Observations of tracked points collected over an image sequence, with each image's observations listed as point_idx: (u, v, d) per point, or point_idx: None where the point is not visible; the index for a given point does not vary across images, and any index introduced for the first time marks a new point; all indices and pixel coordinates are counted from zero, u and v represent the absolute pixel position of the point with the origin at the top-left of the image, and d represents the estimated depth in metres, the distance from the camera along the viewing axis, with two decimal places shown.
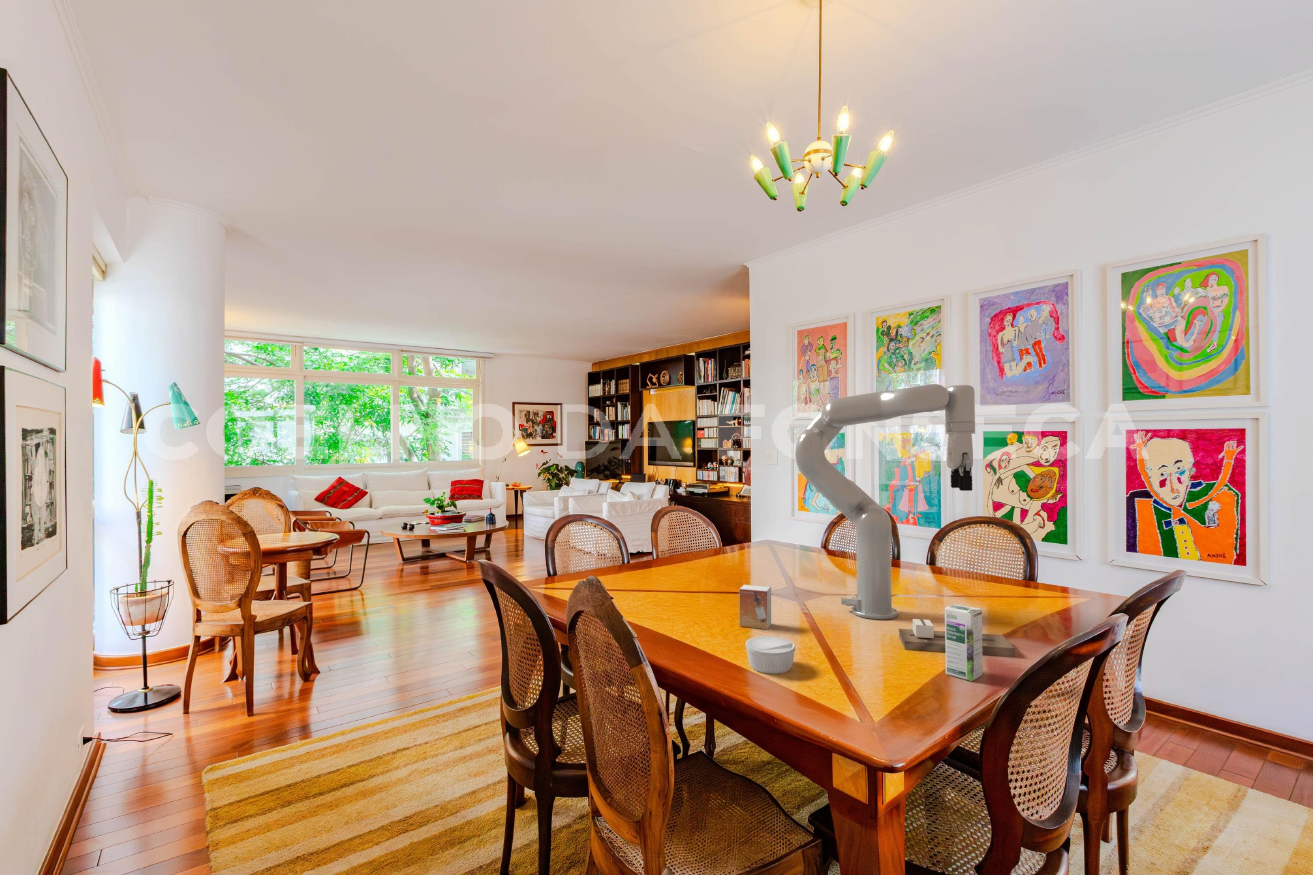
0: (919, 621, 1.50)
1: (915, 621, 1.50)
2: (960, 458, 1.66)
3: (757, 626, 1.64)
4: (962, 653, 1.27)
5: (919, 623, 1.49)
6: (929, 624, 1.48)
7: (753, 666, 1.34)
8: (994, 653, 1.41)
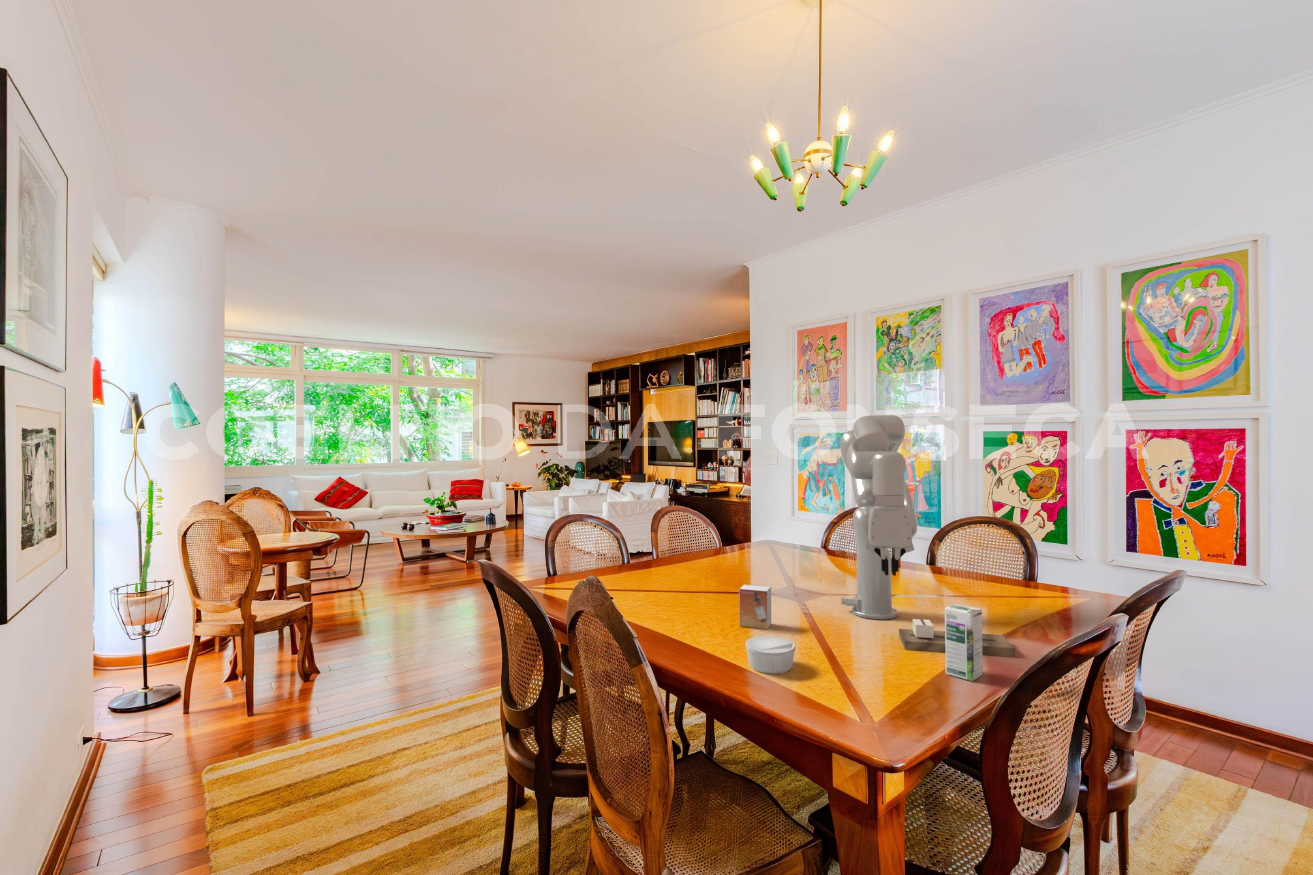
0: (919, 621, 1.50)
1: (915, 621, 1.50)
2: None
3: (757, 626, 1.64)
4: (962, 653, 1.27)
5: (919, 623, 1.49)
6: (929, 624, 1.48)
7: (753, 666, 1.34)
8: (994, 653, 1.41)
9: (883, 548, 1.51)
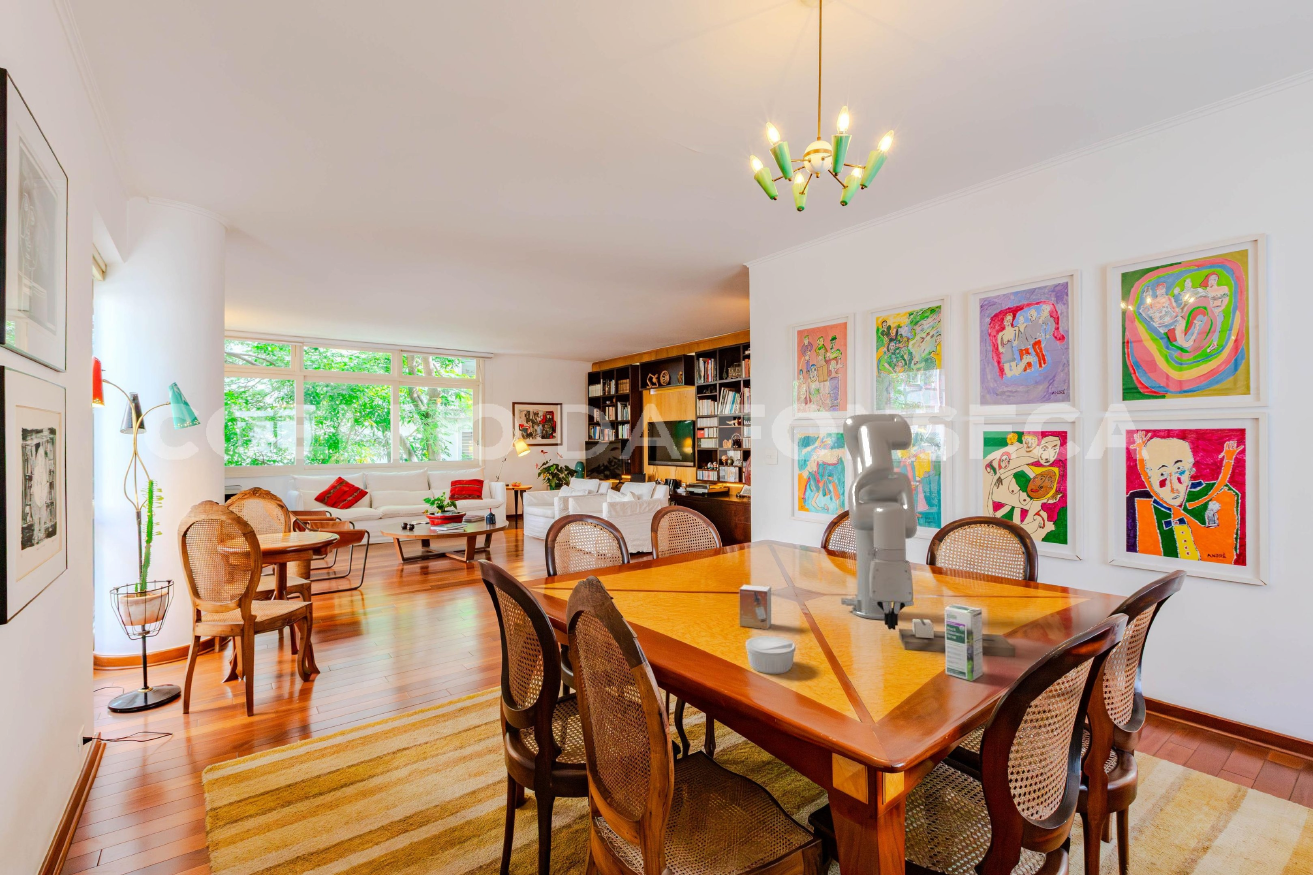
0: (919, 621, 1.50)
1: (915, 621, 1.50)
2: None
3: (757, 626, 1.64)
4: (962, 653, 1.27)
5: (919, 623, 1.49)
6: (929, 624, 1.48)
7: (753, 666, 1.34)
8: (994, 653, 1.41)
9: (885, 602, 1.50)
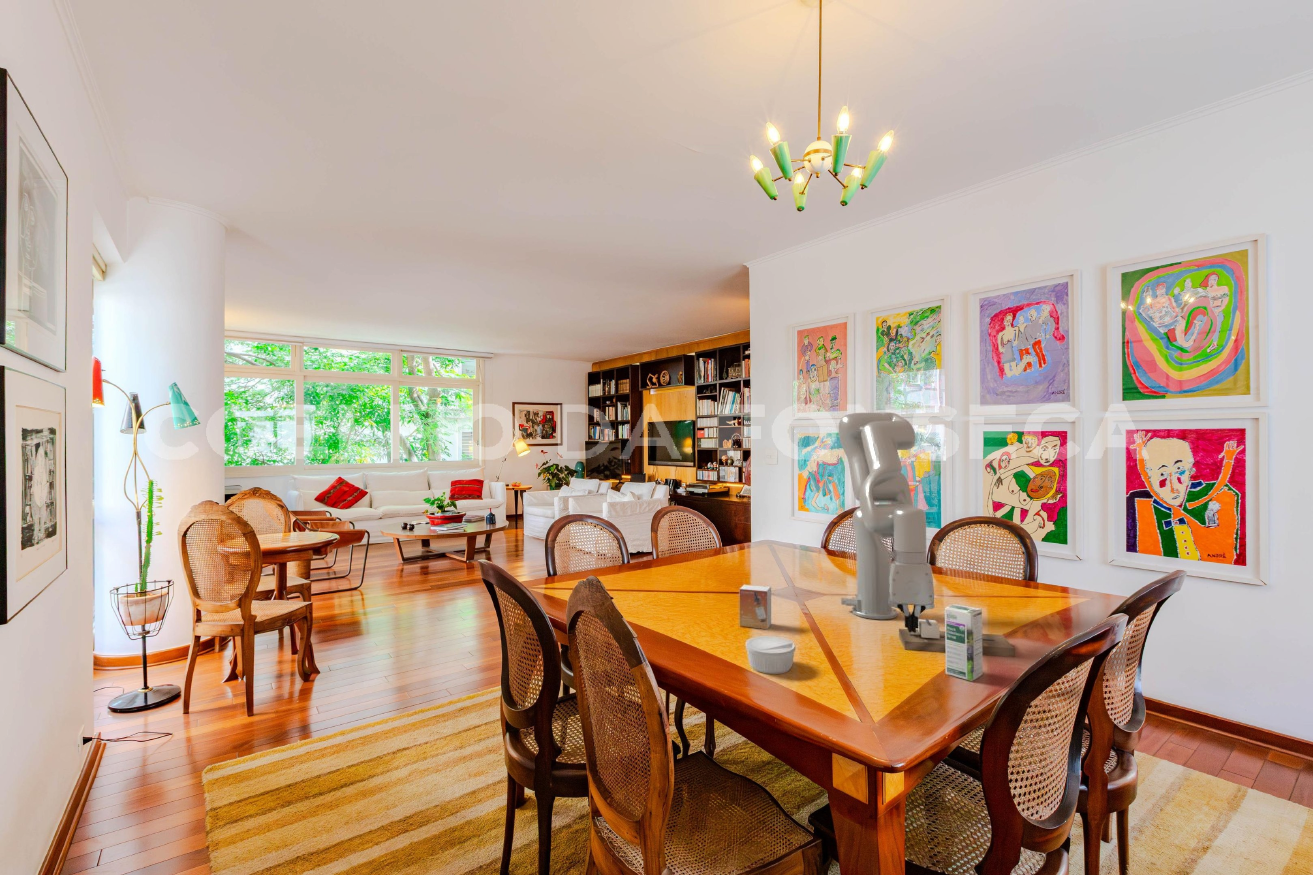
0: (925, 621, 1.50)
1: (921, 621, 1.50)
2: None
3: (757, 626, 1.64)
4: (962, 653, 1.27)
5: (925, 623, 1.48)
6: (935, 624, 1.47)
7: (753, 666, 1.34)
8: (994, 653, 1.41)
9: (906, 605, 1.49)
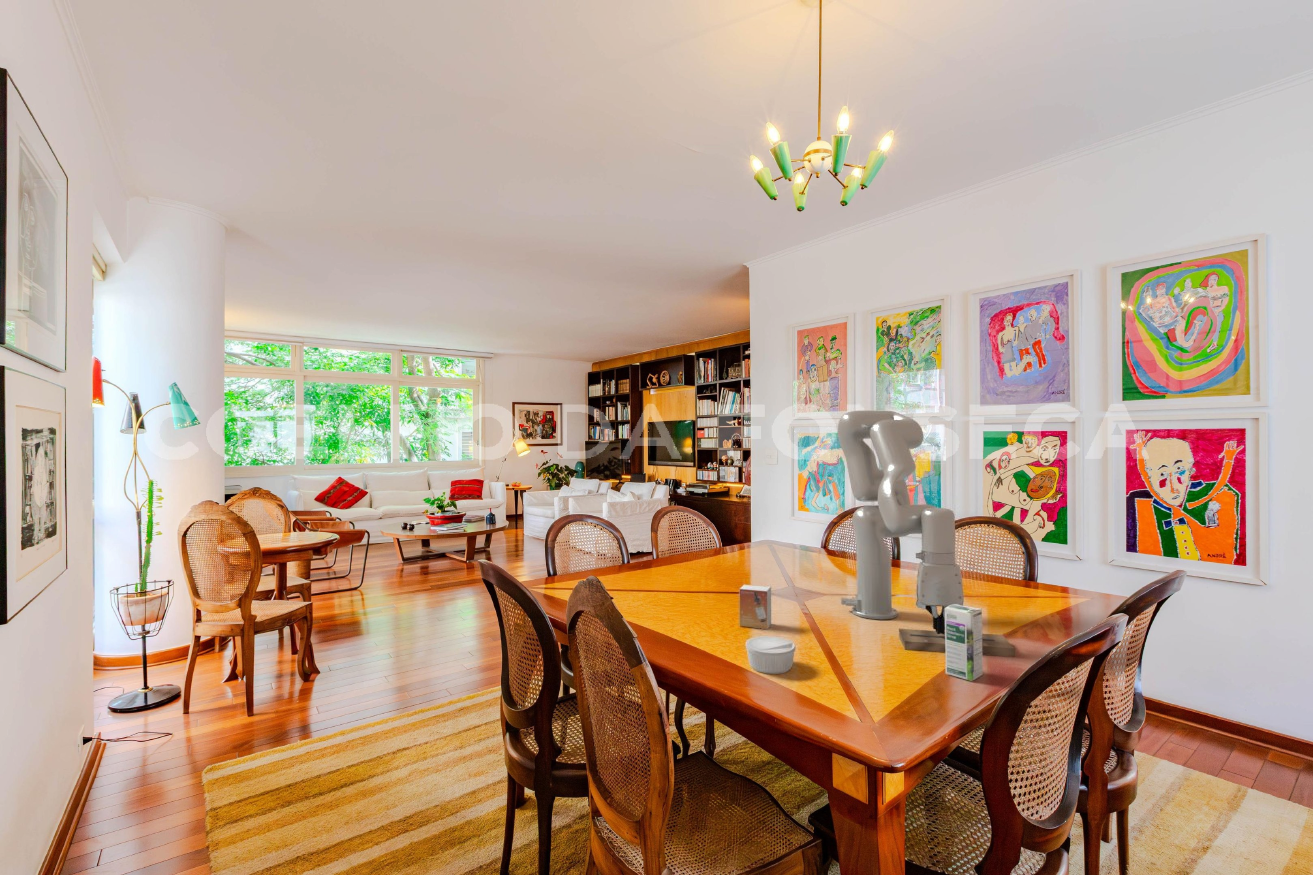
0: None
1: None
2: None
3: (757, 626, 1.64)
4: (962, 653, 1.27)
5: None
6: None
7: (753, 666, 1.34)
8: (994, 653, 1.41)
9: (934, 606, 1.48)
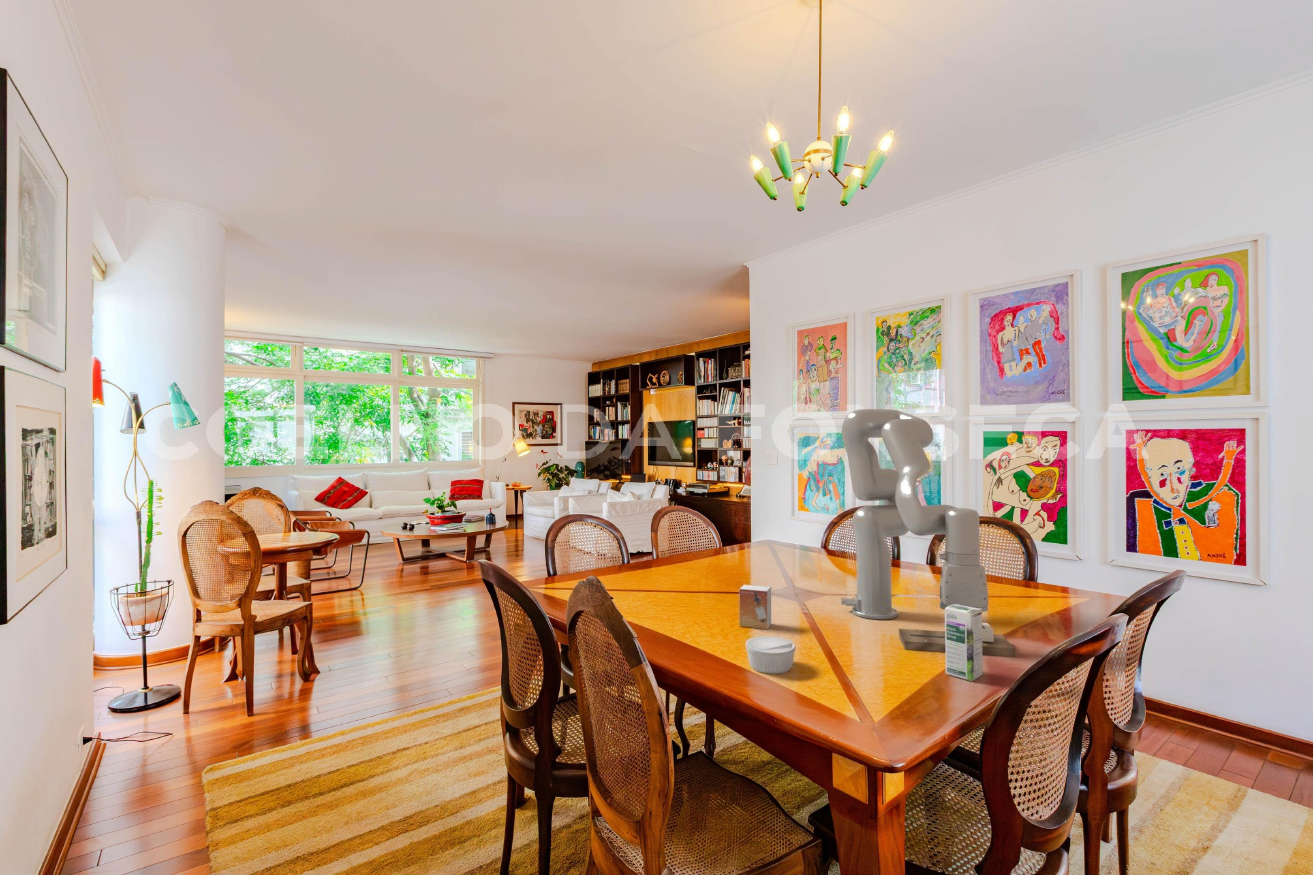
0: None
1: None
2: None
3: (757, 626, 1.64)
4: (962, 653, 1.27)
5: None
6: (988, 627, 1.44)
7: (753, 666, 1.34)
8: (994, 653, 1.41)
9: None
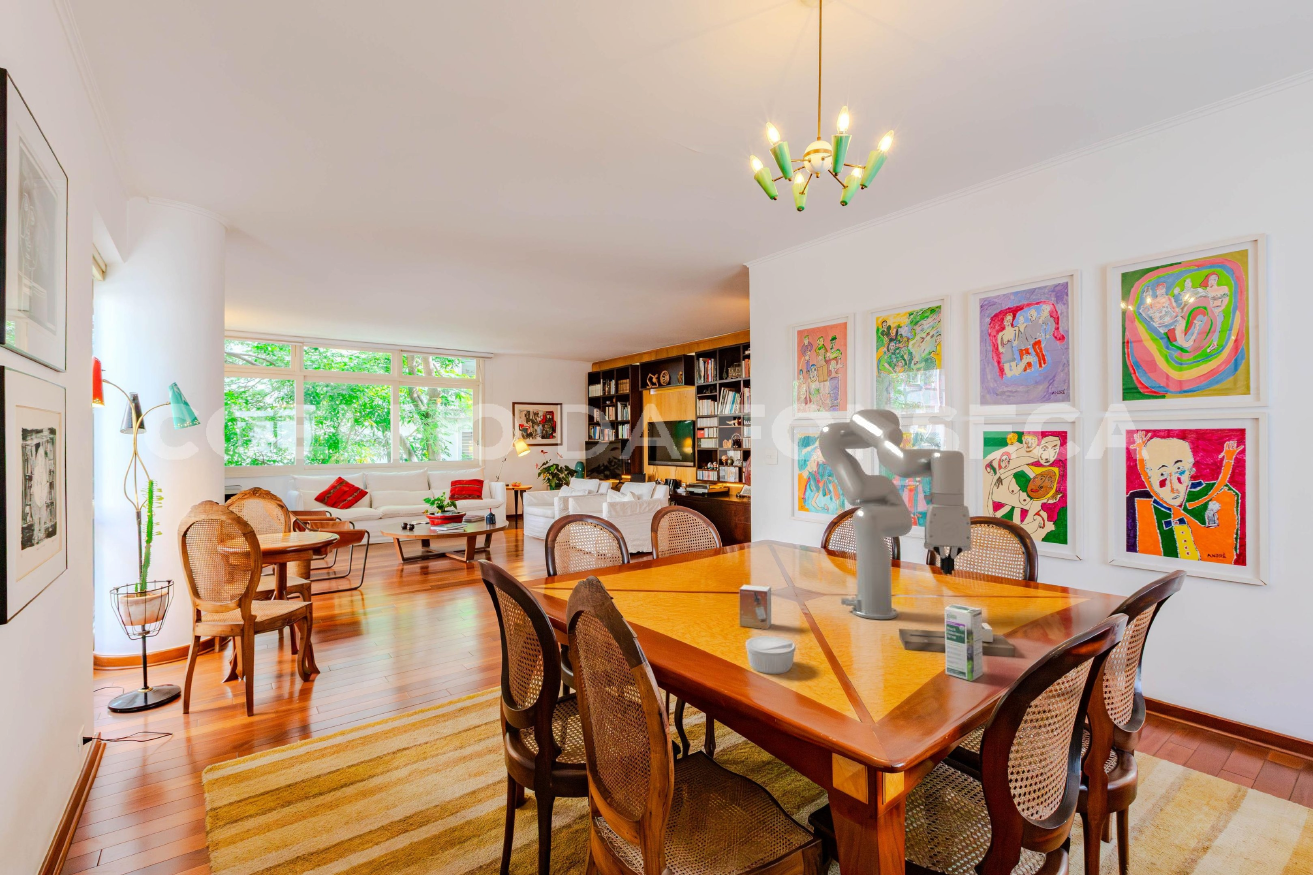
0: None
1: None
2: None
3: (757, 626, 1.64)
4: (962, 653, 1.27)
5: None
6: (988, 627, 1.44)
7: (753, 666, 1.34)
8: (994, 653, 1.41)
9: (942, 547, 1.49)
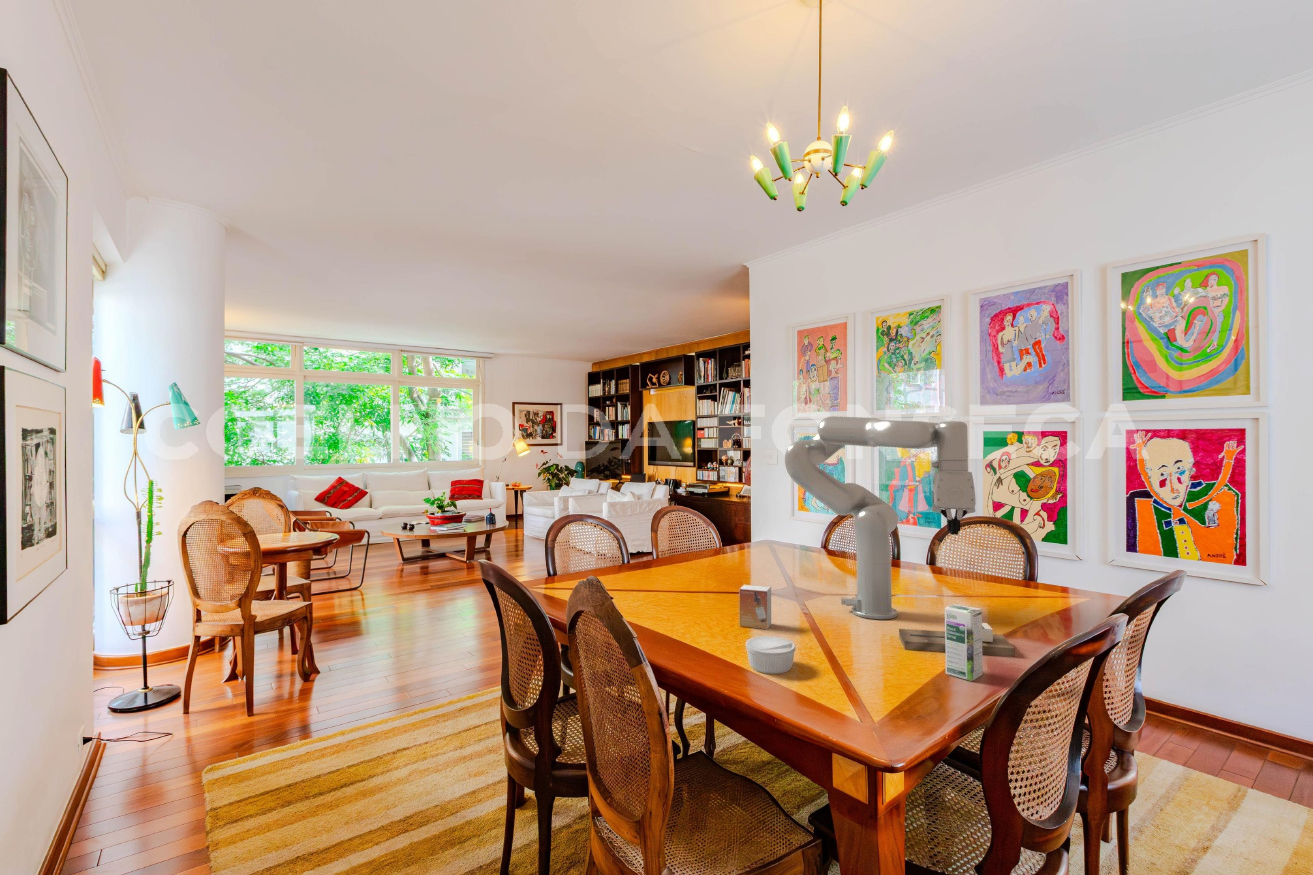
0: None
1: None
2: None
3: (757, 626, 1.64)
4: (962, 653, 1.27)
5: None
6: (988, 627, 1.44)
7: (753, 666, 1.34)
8: (994, 653, 1.41)
9: (949, 509, 1.62)
